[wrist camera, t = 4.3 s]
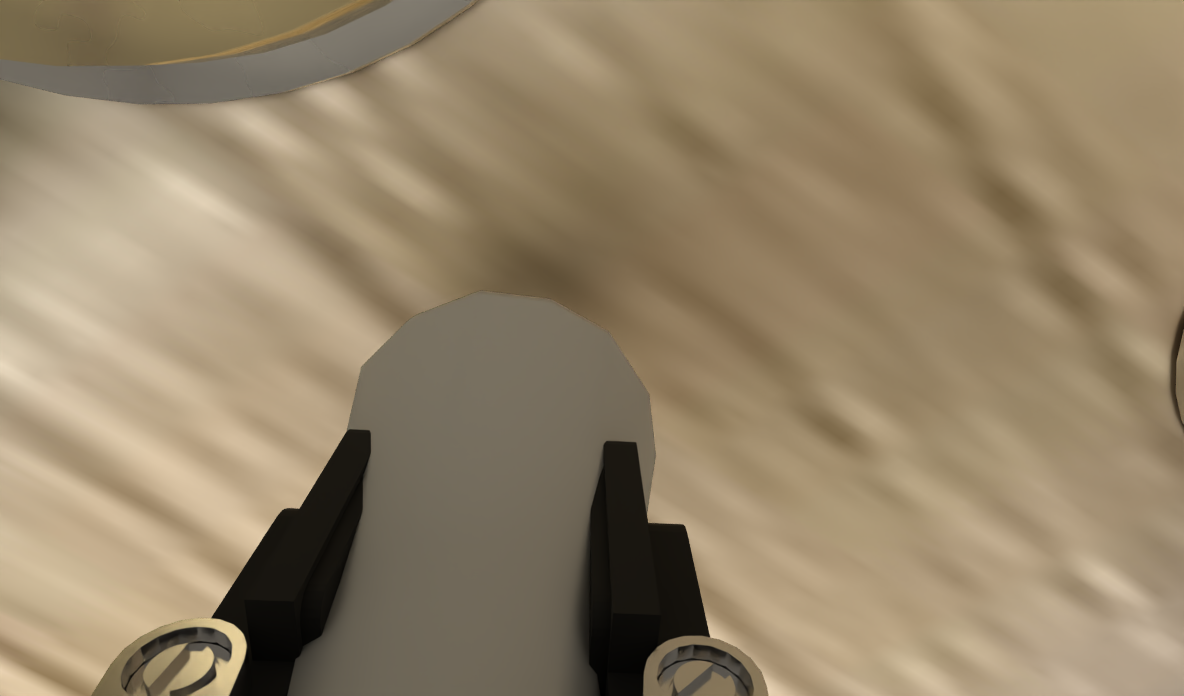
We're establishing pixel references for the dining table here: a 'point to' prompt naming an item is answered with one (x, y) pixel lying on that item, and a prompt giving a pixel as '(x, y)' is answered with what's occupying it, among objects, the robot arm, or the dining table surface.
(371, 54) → the round white base
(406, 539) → the salt shaker
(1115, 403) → the dining table surface
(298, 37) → the round wooden platform
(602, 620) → the robot arm
